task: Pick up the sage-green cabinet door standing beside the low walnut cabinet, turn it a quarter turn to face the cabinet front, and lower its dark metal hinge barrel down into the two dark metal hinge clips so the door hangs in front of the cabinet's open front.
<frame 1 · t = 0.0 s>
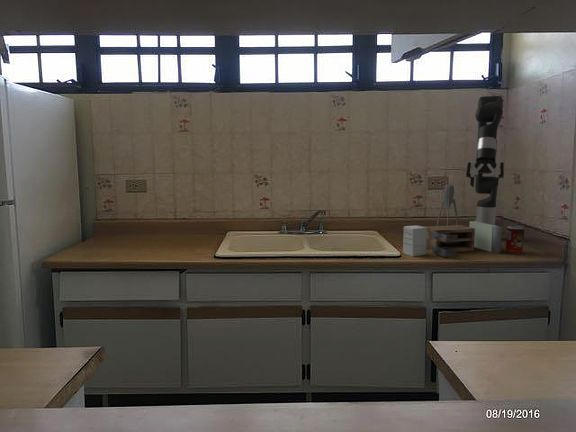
hand: (483, 187, 184), 31 cm above the countertop, tool tilted 20°, fingers open, 8 cm apart
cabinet: (448, 249, 212), on the countertop
soda can: (513, 253, 205), on the countertop
supplement box: (414, 254, 202), on the countertop
citrus juicer: (443, 243, 227), on the countertop
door: (483, 248, 214), on the countertop
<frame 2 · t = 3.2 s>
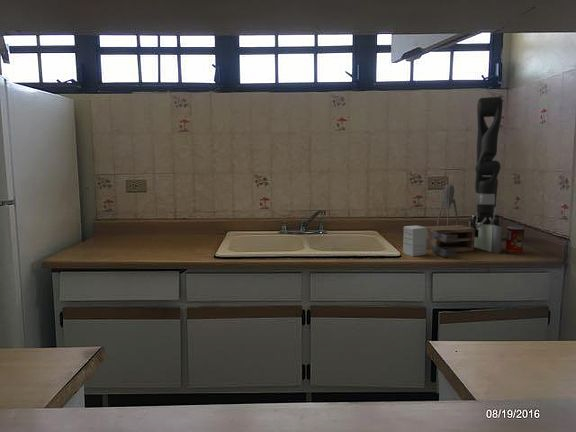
hand: (483, 236, 213), 6 cm above the countertop, tool pointing down, fingers open, 8 cm apart
nothing on the countertop moved.
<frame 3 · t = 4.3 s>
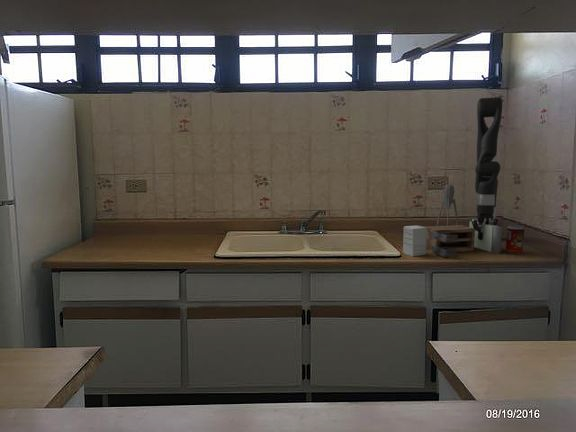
hand: (483, 239, 213), 4 cm above the countertop, tool pointing down, fingers closed on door, 3 cm apart
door: (483, 248, 213), on the countertop, touching gripper
everything else where it was.
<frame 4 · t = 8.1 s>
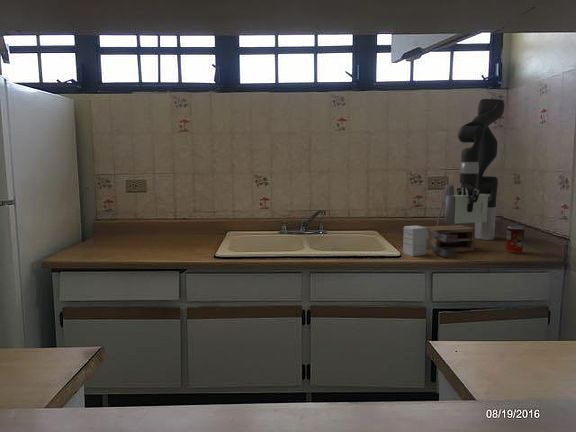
hand: (467, 211, 198), 20 cm above the countertop, tool pointing down, fingers closed on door, 3 cm apart
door: (466, 222, 198), point 15 cm above the countertop, touching gripper
everything else where it was.
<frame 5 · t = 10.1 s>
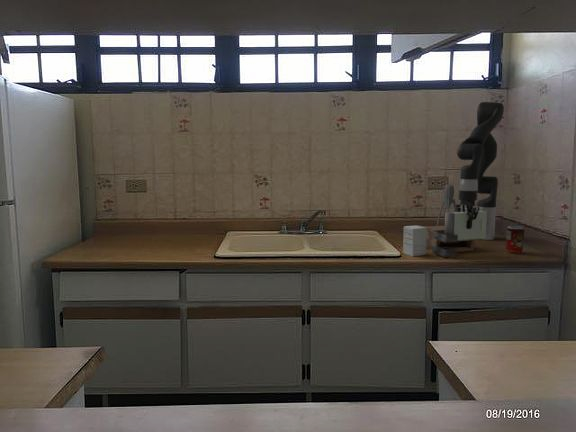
hand: (466, 227, 199), 12 cm above the countertop, tool pointing down, fingers closed on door, 3 cm apart
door: (466, 238, 199), point 7 cm above the countertop, touching gripper
everything else where it was.
when the fingers open (5 cm above the countertop, at t = 11.9 s): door stays where it is, on the countertop.
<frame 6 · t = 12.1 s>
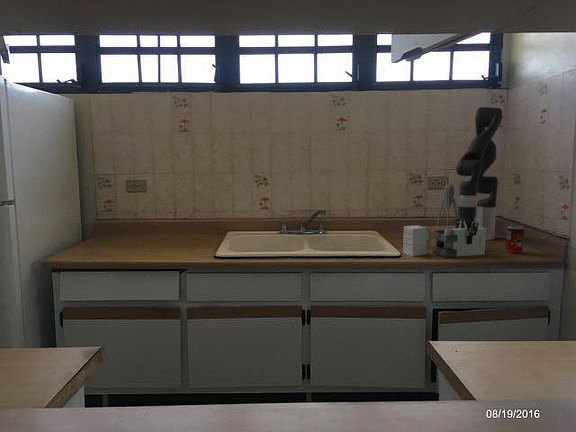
hand: (465, 242, 199), 6 cm above the countertop, tool pointing down, fingers open, 4 cm apart
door: (465, 254, 200), on the countertop
everything else where it was.
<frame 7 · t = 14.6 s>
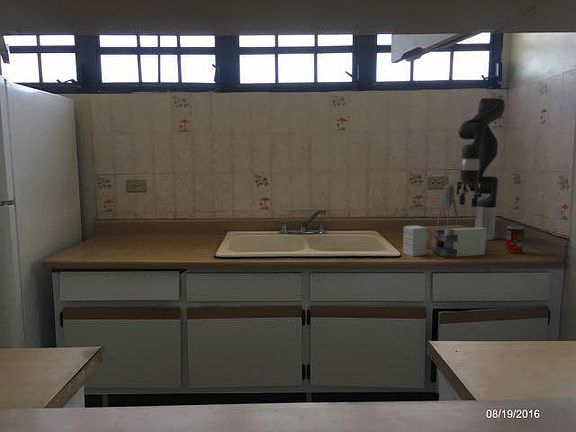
hand: (467, 205, 198), 22 cm above the countertop, tool pointing down, fingers open, 8 cm apart
nothing on the countertop moved.
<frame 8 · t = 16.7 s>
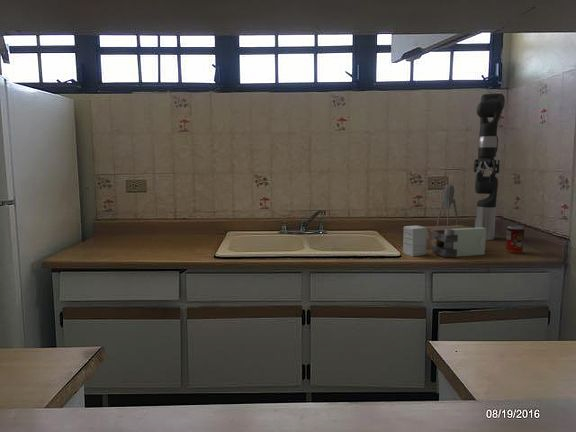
hand: (485, 182, 204), 32 cm above the countertop, tool pointing down, fingers open, 8 cm apart
nothing on the countertop moved.
at the end: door 0.3 cm from the target spot, on the countertop; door tilted 0°; the gripper is holding nothing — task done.
